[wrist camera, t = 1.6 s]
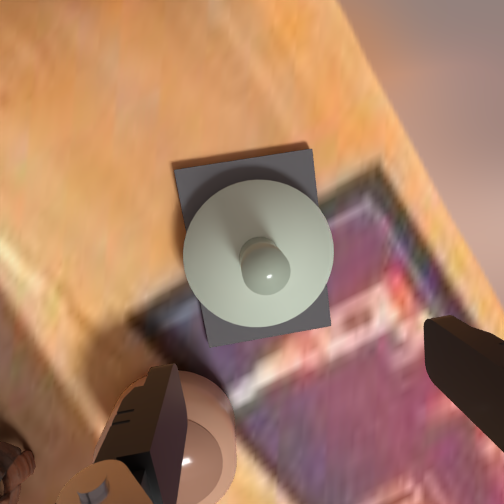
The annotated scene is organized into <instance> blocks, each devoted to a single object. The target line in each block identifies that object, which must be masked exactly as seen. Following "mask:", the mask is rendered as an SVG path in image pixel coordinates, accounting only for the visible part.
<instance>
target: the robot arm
mask: <svg viewBox="0 0 504 504" xmlns="http://www.w3.org/2000/svg"><path fill="white" fill-rule="evenodd" d="M424 349H425V366H426V370H427V373H428V375H429V377H430V379H431V381H432V382H433V383H434V384H435V385H436V386H437V387H438V388H439V389H440V390H441V391H442V392H443V393H444V394H445V395H446V396H447V397H448V398H449V399H450V400H451V401H452V402H453V403H454V404H455V405H456V406H457V407H458V408H459V409H460V410H461V411H462V412H463V413H464V414H465V415H466V416H467V417H468V418H469V419H470V420H471V421H472V422H473V423H474V424H475V425H476V426H477V427H478V428H479V429H480V430H481V431H482V432H483V433H484V434H486V435H487V436H488V437H489V438H490V439H491V440H492V441H493V442H494V443H495V444H496V445H497V446H498V447H499V448H500V449H501V450H502V451H503V452H504V341H503V340H502V339H500V338H498V337H497V336H495V335H493V334H491V333H489V332H486V331H483V330H479V329H476V328H473V327H471V326H469V325H467V324H466V323H464V322H462V321H461V320H459V319H457V318H456V317H454V316H452V315H448V316H442V317H436V318H431V319H427V320H426V321H425V322H424ZM187 426H188V419H187V409H186V404H185V399H184V395H183V390H182V386H181V381H180V377H179V372H178V368H177V366H176V364H175V363H174V364H168V365H162V366H157V367H151V368H150V370H149V373H148V375H147V378H146V380H145V383H144V386H138V387H134V388H133V389H132V390H131V391H130V392H129V393H128V394H127V395H126V396H125V397H124V398H123V400H122V402H121V404H120V406H119V408H118V411H117V415H115V417H114V419H113V422H112V426H110V428H109V430H108V432H107V435H106V437H105V439H104V441H103V443H102V446H101V448H100V450H99V452H98V454H97V457H96V459H95V461H94V463H93V464H92V465H90V466H88V467H86V468H85V469H83V470H81V471H80V472H79V473H77V474H76V475H75V476H74V477H72V478H71V479H70V480H69V481H68V482H67V484H66V485H65V486H64V487H63V489H62V490H61V492H60V494H59V496H58V498H57V502H56V504H176V503H177V497H178V490H179V483H180V476H181V469H182V462H183V455H184V448H185V441H186V434H187Z"/></svg>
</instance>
